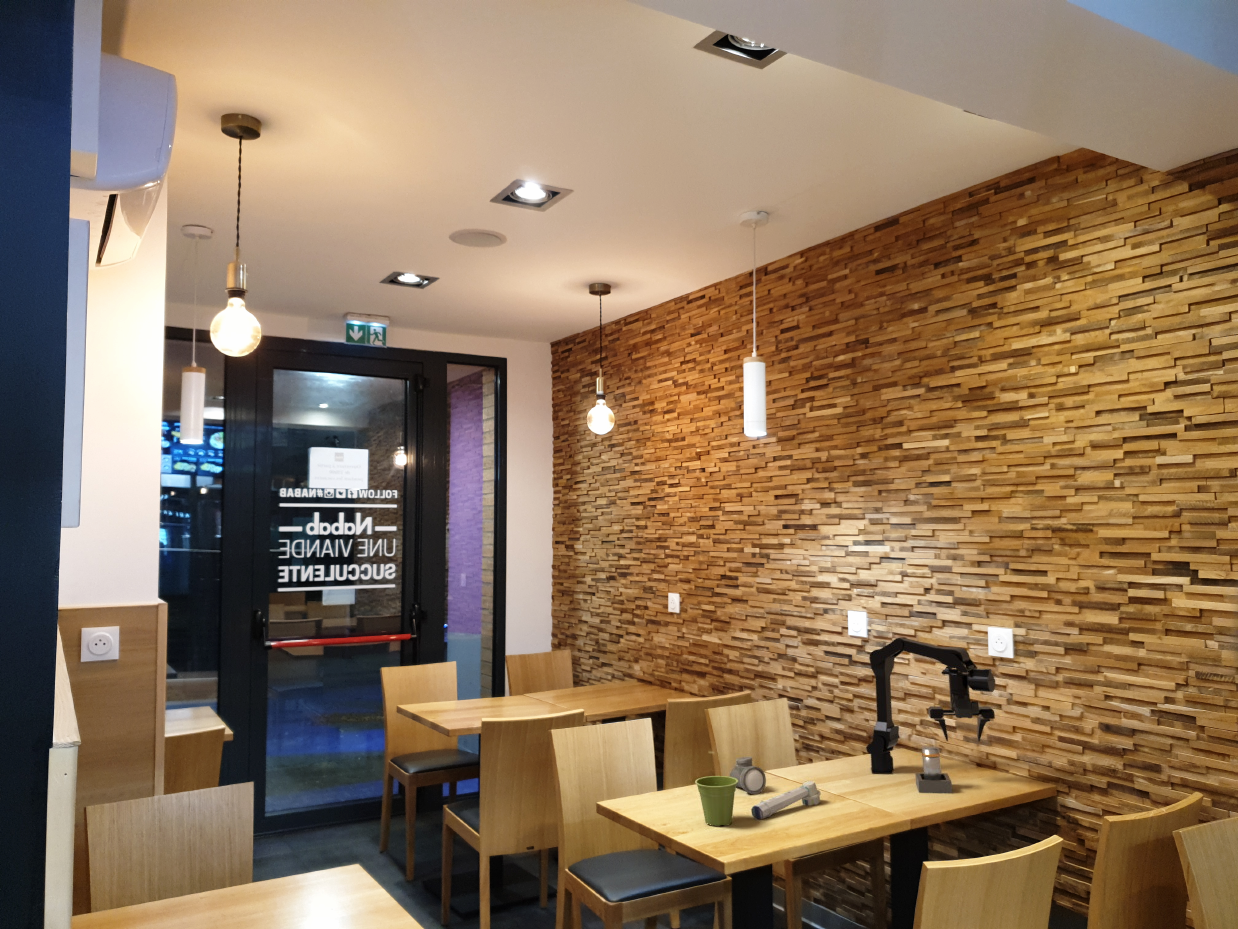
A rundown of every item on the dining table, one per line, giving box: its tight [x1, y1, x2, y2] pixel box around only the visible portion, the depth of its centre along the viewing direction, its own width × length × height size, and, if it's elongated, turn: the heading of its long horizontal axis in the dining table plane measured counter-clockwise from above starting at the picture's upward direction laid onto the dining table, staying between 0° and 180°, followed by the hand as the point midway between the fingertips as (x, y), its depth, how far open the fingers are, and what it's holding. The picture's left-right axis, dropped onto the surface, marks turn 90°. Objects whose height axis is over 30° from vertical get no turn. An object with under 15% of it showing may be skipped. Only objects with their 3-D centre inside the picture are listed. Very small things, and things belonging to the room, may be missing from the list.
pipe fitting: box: [728, 756, 767, 795], centre depth 285 cm, size 12×8×10 cm, turn 21°
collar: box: [914, 772, 953, 794], centre depth 278 cm, size 9×9×4 cm
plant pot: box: [694, 775, 738, 827], centre depth 253 cm, size 12×12×11 cm
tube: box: [921, 745, 942, 780], centre depth 278 cm, size 5×5×12 cm
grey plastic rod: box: [750, 780, 822, 821], centre depth 262 cm, size 5×7×25 cm
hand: (962, 741), depth 282 cm, fingers open, 9 cm apart
